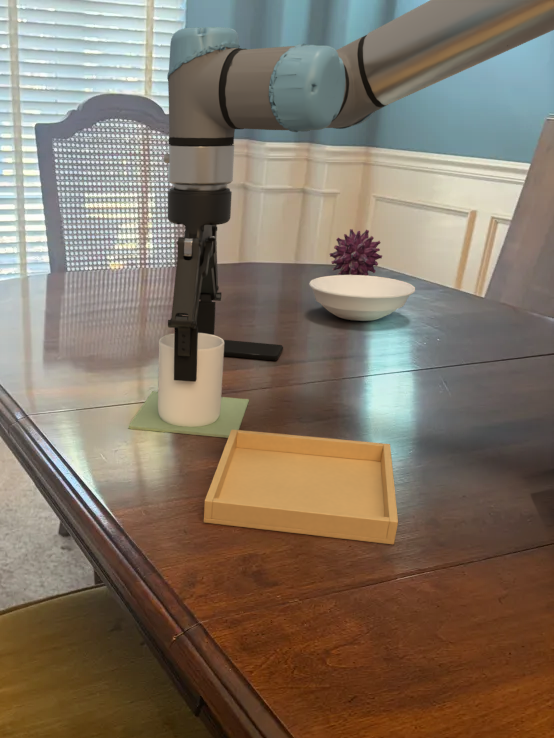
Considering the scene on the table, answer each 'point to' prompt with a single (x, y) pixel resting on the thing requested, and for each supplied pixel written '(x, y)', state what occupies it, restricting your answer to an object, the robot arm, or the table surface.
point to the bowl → (360, 295)
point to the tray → (305, 486)
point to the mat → (221, 427)
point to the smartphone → (252, 350)
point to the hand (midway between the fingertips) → (194, 364)
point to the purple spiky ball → (356, 254)
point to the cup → (191, 384)
